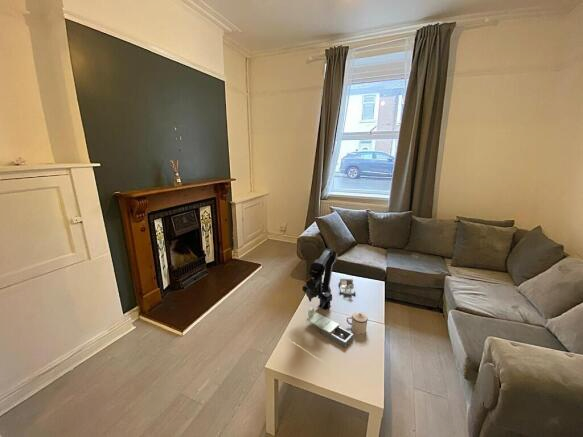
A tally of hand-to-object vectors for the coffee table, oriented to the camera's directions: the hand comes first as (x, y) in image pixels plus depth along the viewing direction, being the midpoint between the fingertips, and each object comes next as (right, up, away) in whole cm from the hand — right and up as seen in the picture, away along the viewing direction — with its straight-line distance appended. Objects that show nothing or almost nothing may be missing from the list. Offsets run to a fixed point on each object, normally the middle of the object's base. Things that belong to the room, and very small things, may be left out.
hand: (316, 304), depth 152 cm
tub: (+11, -15, -11) cm, 21 cm away
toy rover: (+28, -4, +39) cm, 48 cm away
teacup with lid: (+24, -14, -4) cm, 28 cm away
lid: (+3, -9, -5) cm, 11 cm away
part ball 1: (+8, -14, -9) cm, 19 cm away
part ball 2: (+13, -15, -13) cm, 24 cm away
